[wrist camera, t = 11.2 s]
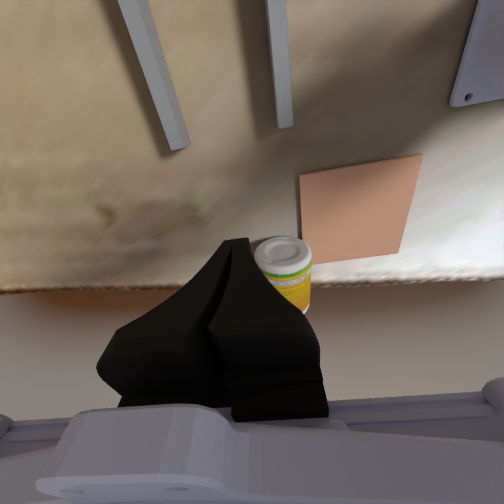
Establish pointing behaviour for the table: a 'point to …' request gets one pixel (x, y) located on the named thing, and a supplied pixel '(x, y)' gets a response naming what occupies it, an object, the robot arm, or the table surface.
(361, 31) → the table surface
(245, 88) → the table surface
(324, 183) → the tile
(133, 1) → the channel
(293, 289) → the supplement bottle
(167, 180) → the table surface
